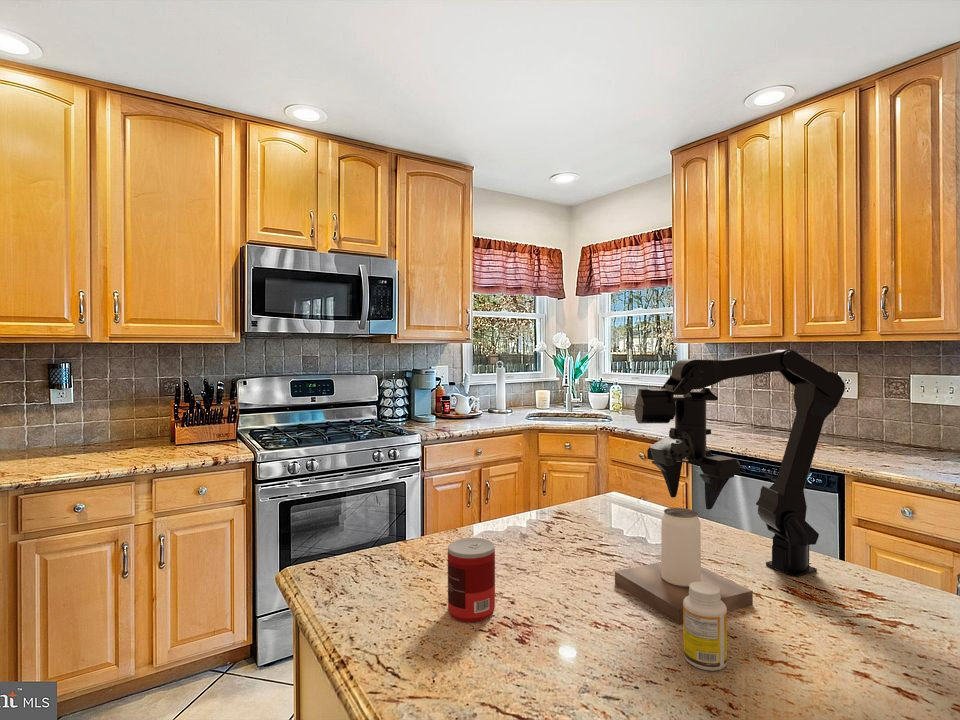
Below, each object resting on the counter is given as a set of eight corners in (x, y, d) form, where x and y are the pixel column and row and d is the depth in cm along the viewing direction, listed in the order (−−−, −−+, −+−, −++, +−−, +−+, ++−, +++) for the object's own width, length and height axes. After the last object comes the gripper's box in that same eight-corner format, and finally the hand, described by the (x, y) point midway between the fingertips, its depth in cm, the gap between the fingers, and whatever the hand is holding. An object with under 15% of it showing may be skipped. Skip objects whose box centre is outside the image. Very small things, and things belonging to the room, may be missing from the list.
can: (703, 589, 91) (703, 518, 91) (663, 586, 92) (663, 516, 92) (697, 574, 97) (697, 508, 97) (659, 571, 99) (659, 505, 98)
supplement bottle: (704, 646, 78) (704, 576, 78) (736, 667, 73) (736, 591, 73) (674, 655, 76) (674, 582, 76) (704, 676, 71) (704, 599, 71)
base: (682, 570, 105) (682, 557, 105) (752, 605, 91) (752, 590, 90) (614, 584, 99) (614, 571, 99) (679, 624, 84) (679, 608, 84)
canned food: (500, 604, 91) (500, 540, 91) (485, 627, 84) (485, 556, 84) (458, 598, 94) (458, 535, 94) (440, 619, 86) (440, 551, 86)
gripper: (626, 420, 111) (626, 496, 111) (696, 432, 94) (696, 521, 94) (668, 417, 115) (668, 490, 115) (742, 428, 98) (742, 513, 98)
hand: (690, 502), depth 106 cm, fingers open, 9 cm apart
